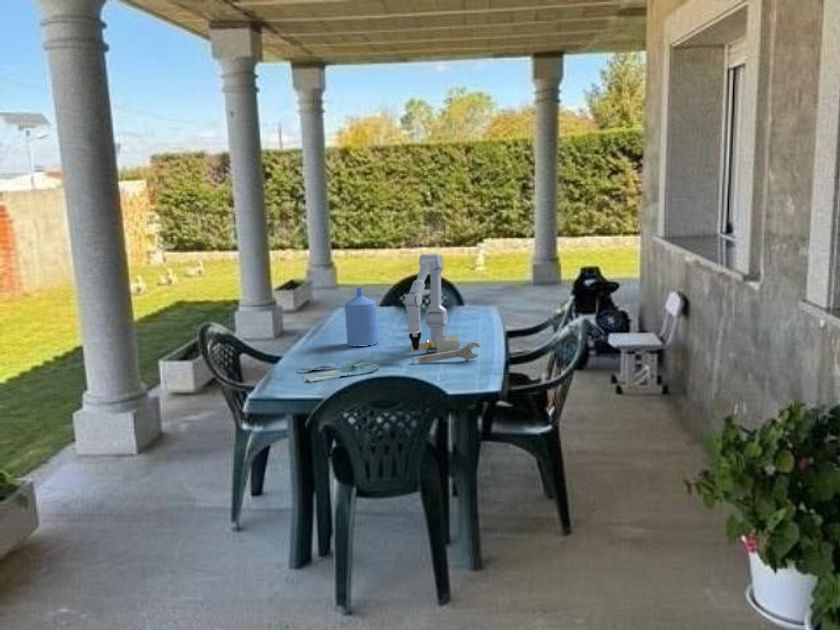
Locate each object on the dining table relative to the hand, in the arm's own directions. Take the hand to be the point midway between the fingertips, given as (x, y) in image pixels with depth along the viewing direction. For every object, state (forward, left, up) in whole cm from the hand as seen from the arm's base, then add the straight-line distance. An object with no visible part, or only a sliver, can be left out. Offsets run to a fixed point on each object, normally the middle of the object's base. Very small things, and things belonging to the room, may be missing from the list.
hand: (415, 349), depth 349 cm
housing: (0, +14, -2) cm, 15 cm away
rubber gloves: (+23, -34, -3) cm, 41 cm away
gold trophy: (0, +5, -2) cm, 5 cm away
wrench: (+18, +13, -3) cm, 22 cm away
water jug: (-30, -27, -3) cm, 40 cm away
